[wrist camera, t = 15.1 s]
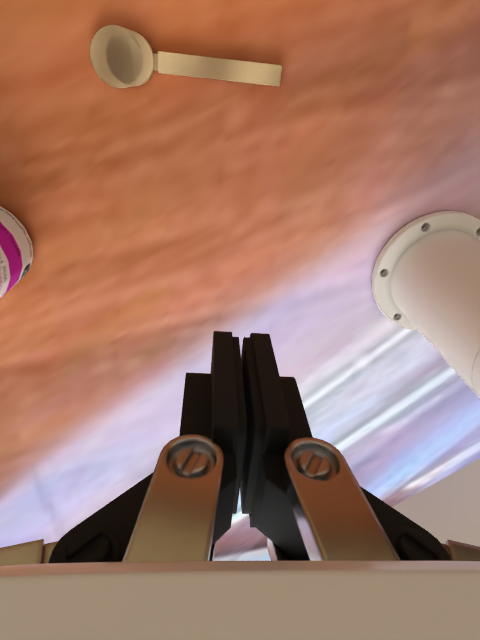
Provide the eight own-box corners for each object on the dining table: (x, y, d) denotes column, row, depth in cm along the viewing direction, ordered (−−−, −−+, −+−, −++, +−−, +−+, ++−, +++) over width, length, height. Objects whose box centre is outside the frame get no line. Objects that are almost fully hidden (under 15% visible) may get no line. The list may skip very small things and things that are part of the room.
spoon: (283, 46, 31) (285, 44, 30) (276, 104, 33) (277, 104, 32) (90, 23, 29) (87, 21, 29) (94, 85, 31) (91, 85, 31)
